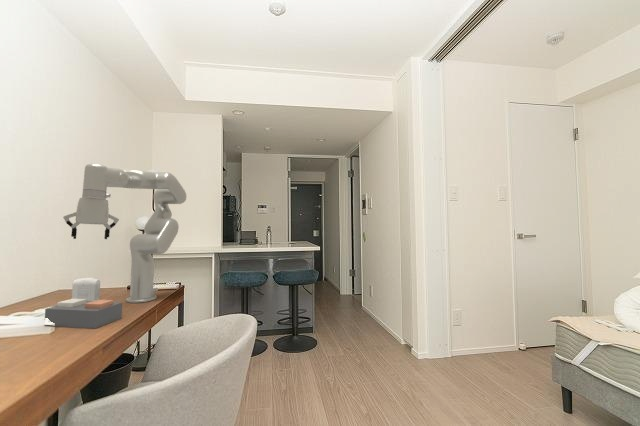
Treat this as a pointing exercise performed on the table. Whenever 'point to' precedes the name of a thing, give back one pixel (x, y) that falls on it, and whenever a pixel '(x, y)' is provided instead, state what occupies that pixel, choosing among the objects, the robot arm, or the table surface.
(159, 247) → the robot arm
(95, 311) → the block
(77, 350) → the table surface
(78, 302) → the white key
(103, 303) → the terracotta key
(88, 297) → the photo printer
